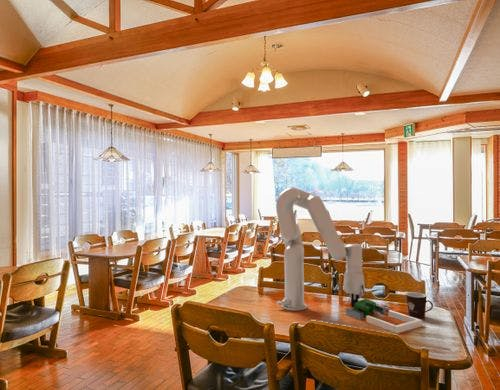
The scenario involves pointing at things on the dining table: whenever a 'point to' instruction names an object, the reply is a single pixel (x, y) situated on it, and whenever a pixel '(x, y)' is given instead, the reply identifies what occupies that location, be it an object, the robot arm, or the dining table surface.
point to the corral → (403, 327)
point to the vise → (359, 314)
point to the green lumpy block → (365, 306)
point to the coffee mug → (417, 304)
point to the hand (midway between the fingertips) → (354, 307)
